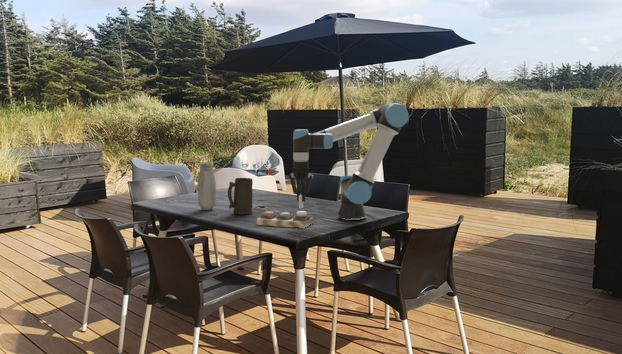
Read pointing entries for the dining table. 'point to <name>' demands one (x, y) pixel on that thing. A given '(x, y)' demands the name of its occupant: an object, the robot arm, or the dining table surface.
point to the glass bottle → (206, 187)
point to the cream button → (301, 213)
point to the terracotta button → (269, 213)
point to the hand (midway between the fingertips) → (301, 207)
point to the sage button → (285, 214)
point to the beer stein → (241, 196)
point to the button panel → (284, 221)
